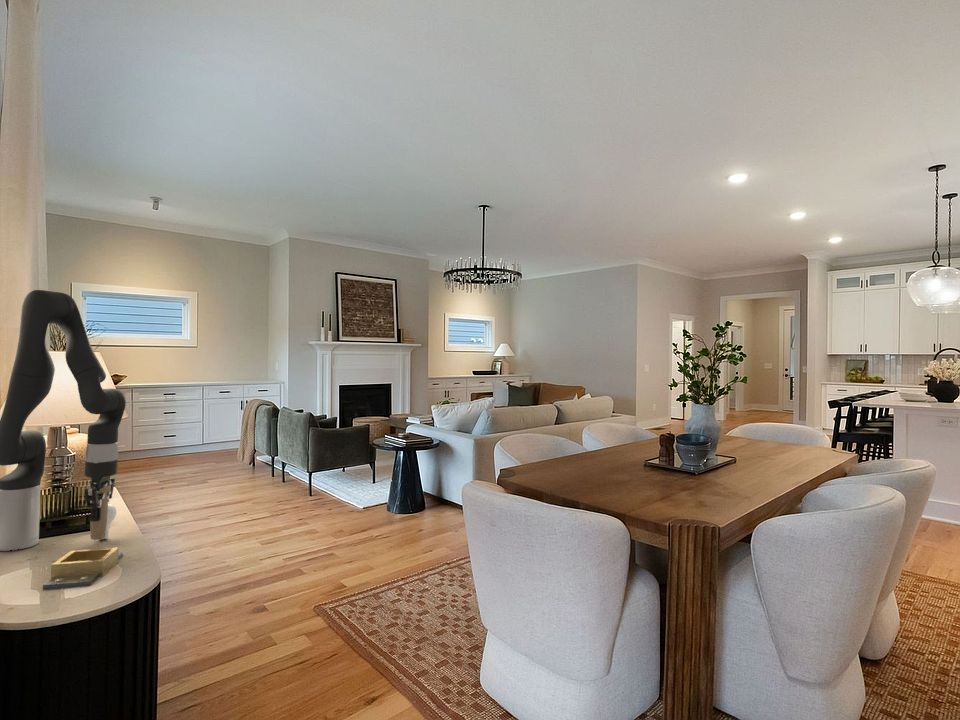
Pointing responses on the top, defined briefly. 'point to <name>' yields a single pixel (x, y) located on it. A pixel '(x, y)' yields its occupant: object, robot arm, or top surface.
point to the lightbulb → (109, 518)
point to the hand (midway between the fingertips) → (98, 518)
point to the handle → (100, 526)
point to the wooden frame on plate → (82, 567)
